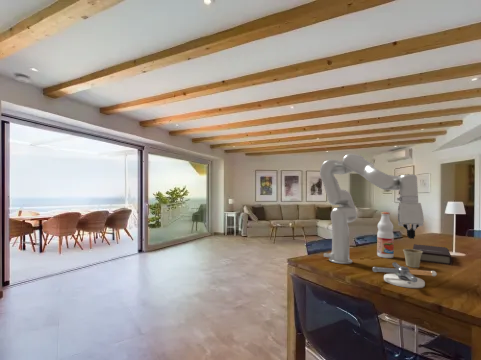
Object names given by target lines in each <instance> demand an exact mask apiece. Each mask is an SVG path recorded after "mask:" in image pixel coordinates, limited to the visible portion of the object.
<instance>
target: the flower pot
mask: <svg viewBox="0 0 481 360" xmlns="http://www.w3.org/2000/svg"><path fill="white" fill-rule="evenodd" d="M402 251H403V254H404V258H405V267H408V268H413V269H415V268H420V264H421V261H420V259H421V255H422V253H423V252H422V251H420V250H414V249H413V248H403V249H402Z"/></svg>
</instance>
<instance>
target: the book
mask: <svg viewBox="0 0 481 360" xmlns="http://www.w3.org/2000/svg"><path fill="white" fill-rule="evenodd" d="M412 249H414V250H420V251H422V252H423V253H422V255H421V259H420V262H425V263H430V264H431V263H432V264H441V265H448V266H451V265H453V258H452V255H451V253H450V251H449V249H448V248H447V247H445V246H434V245H426V244H416V243H414V244H413V247H412Z"/></svg>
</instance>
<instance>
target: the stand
mask: <svg viewBox="0 0 481 360" xmlns="http://www.w3.org/2000/svg"><path fill="white" fill-rule="evenodd" d="M415 277H416V278H417V282H412V281H411V280H403V279H400V278H398V273H386V274H385V273H384V275H383V281H384V282H385V283H388V284H390V285H393V286H395V287H396V286H397V287H402V288H408V289H423V288H424V287H425V285H426V282H425V280H423V279H422V278H420V277H417V276H415Z"/></svg>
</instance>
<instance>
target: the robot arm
mask: <svg viewBox="0 0 481 360" xmlns="http://www.w3.org/2000/svg"><path fill="white" fill-rule="evenodd" d="M352 172H354V173H356V174H358V175H359V176H361V177H363V178H364V179H365V180H366V181H368V182H369V183H370V184H372V185H374V186H375V187H378V188H379V189H382V190H385V191H399V197H397V198H396V200H397V201H399V202H398V207H397V221H398V222H397V225H398V226H399V227H403V228H404V229H405V230H406V235H407V238H408V239H411V240H414V239H415V237H416V230H417V229H418V228H420V227H423V226H424V222H425V221H424V212H423V211H424V210H423V208H422V203H421V202H419V191H418V190H419V188H418V187H419V186H418V177H417V175H416V174H410V173H409V174H402V175H392V174H387V173H385V172H382V171H381V170H379V169H377V168H376V167H375V165H374V163H373V162H370V161H368V160H367V159H365V158H364V156H362V155H361V154H356V153H347V154H346V155H345V156H343V158H342V160H338V159H327V160H325V161H324V162H323V163H322V164H321V165H320V170H319V176H320V179H321V182H322V184H323V187H324V191H325V193H326V198H327V201H328V203H329V204H330V205H333V206H337V207H333V209H332V210H331V211H330V221H331V251H330V252H329V253H325V252H324V253H323V257H324V258H325V257H326V258H328V260H329V261H330V262H331V263H336V264H343V265H348V264H352V263H353V260H352V259H351V258H350V227H349V224H348V223H353V222H355V221H356V220H357V216H358V211H357V209H356V206H355V202H354V200H353V197H352V194H351V193H350V192H349V191H348V190H345V189H341V187H340V184H339V181H338V179H337V177H336V176H335V175H345V174H348V173H352Z"/></svg>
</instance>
